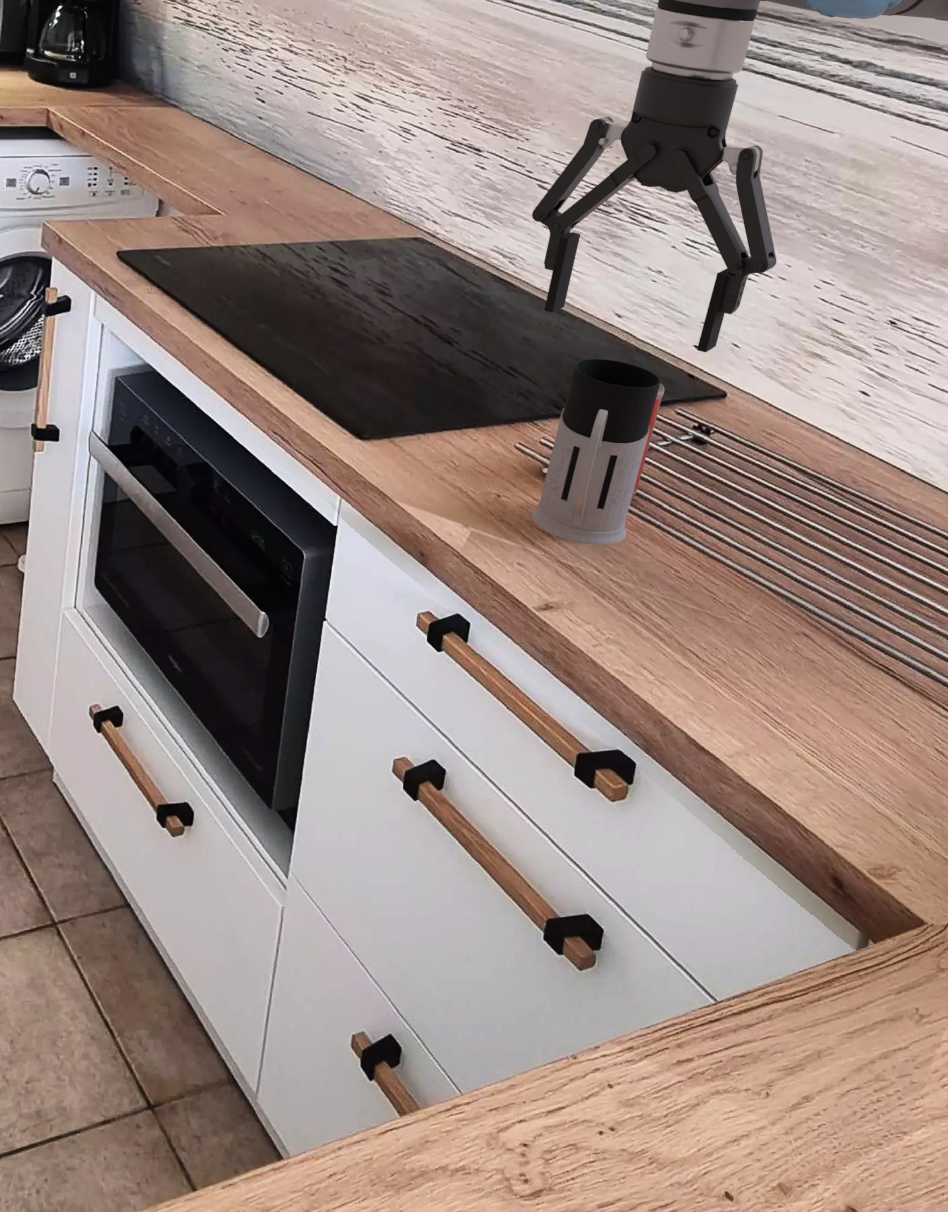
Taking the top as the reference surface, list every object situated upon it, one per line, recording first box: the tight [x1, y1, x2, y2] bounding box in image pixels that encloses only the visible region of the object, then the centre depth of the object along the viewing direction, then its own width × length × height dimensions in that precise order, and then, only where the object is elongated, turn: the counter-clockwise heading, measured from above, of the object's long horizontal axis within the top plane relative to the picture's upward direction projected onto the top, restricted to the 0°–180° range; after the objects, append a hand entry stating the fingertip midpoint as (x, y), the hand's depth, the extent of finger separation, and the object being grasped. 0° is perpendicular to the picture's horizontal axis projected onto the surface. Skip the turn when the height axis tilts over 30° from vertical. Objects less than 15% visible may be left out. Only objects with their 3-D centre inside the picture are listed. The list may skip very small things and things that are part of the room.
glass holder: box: [531, 358, 661, 546], centre depth 141 cm, size 9×14×15 cm, turn 158°
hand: (628, 328), depth 136 cm, fingers open, 13 cm apart
